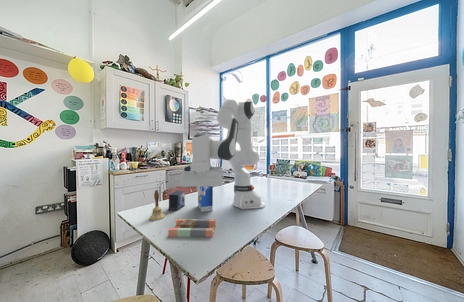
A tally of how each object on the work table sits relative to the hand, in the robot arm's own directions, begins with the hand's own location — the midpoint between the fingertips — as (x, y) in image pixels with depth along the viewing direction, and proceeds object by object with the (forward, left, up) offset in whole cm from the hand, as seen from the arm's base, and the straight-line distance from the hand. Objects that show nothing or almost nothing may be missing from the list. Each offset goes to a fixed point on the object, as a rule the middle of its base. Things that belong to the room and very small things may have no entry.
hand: (201, 195), depth 84 cm
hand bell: (+29, -15, -17) cm, 37 cm away
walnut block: (+7, 0, -17) cm, 19 cm away
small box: (+23, -31, -17) cm, 42 cm away
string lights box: (+4, -31, -17) cm, 36 cm away
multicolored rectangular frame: (+4, 0, -17) cm, 18 cm away
